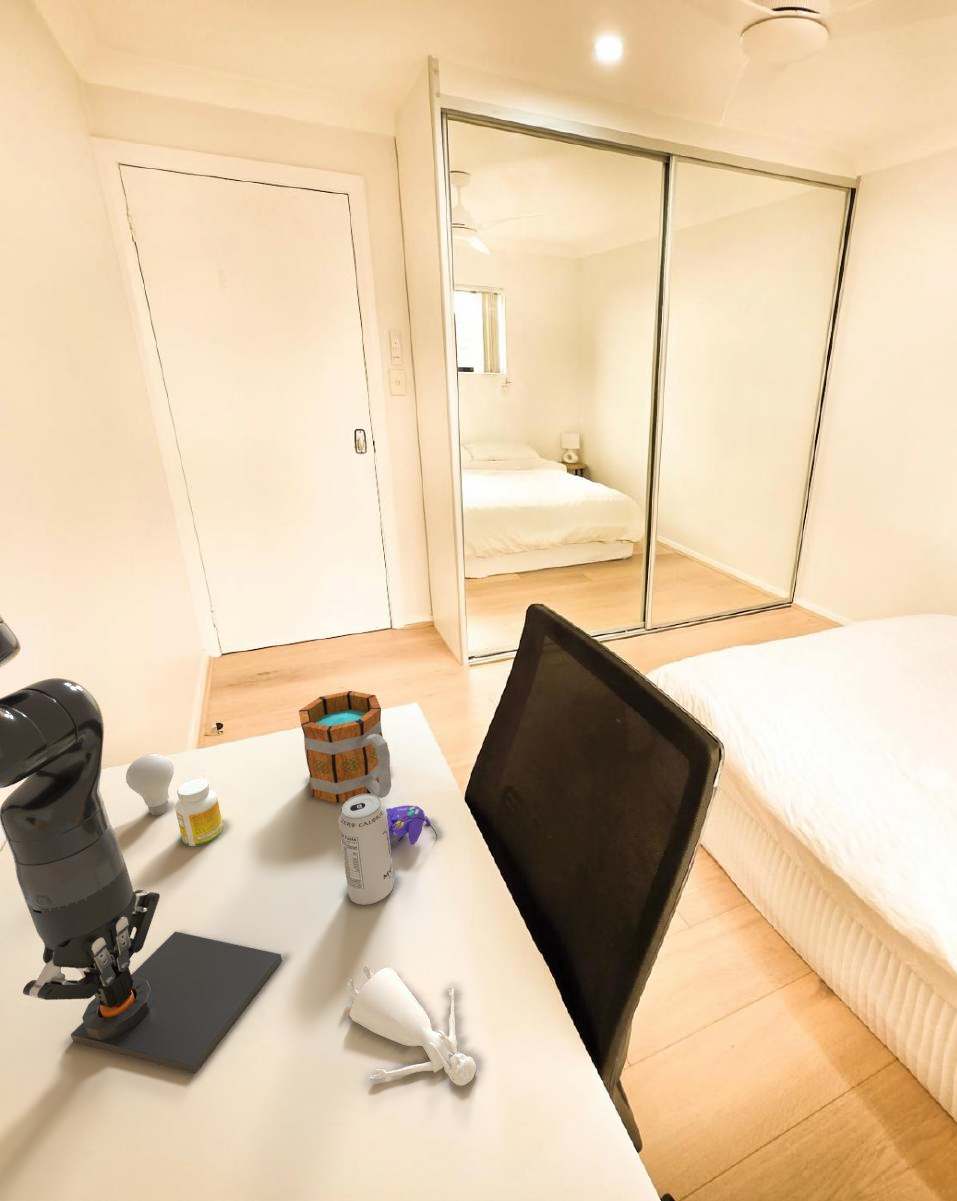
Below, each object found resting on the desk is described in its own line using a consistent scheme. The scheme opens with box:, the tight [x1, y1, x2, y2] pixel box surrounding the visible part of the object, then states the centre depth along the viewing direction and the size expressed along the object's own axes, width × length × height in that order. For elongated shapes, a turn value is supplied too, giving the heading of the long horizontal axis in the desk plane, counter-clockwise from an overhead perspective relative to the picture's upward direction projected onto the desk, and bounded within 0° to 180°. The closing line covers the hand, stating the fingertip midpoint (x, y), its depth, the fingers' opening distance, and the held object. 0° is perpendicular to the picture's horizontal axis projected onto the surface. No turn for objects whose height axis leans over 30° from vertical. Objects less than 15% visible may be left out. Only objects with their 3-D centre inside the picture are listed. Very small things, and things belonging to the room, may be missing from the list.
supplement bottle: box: [174, 778, 224, 847], centre depth 91 cm, size 5×5×10 cm
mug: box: [298, 690, 392, 804], centre depth 102 cm, size 20×14×15 cm
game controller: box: [386, 804, 438, 845], centre depth 92 cm, size 10×8×10 cm
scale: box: [70, 931, 283, 1074], centre depth 67 cm, size 15×13×4 cm
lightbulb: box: [125, 753, 175, 816], centre depth 95 cm, size 6×6×11 cm
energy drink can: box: [337, 793, 395, 906], centre depth 81 cm, size 6×6×15 cm
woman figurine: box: [346, 964, 477, 1087], centre depth 65 cm, size 12×4×18 cm
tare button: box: [100, 990, 135, 1019], centre depth 64 cm, size 3×3×2 cm
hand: (117, 1000), depth 64 cm, fingers closed
